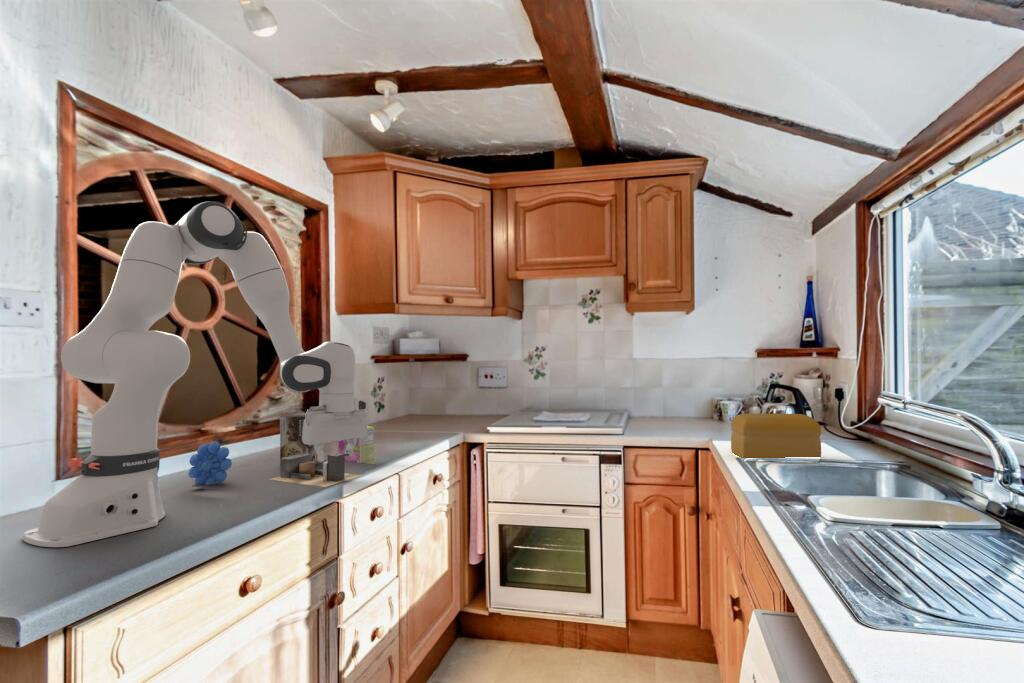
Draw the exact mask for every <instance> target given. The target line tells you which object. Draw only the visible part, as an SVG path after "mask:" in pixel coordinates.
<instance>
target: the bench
mask: <svg viewBox="0 0 1024 683" xmlns="http://www.w3.org/2000/svg"><path fill="white" fill-rule="evenodd" d="M309 461H310V462H312V454H306V453H302V454H298V455H293V456H289V457H284V458H281V461H280V460H279V466H280V470H279V471H280V472H279V475H280V476H277V477H272V478H268V480H269V481H275V482H277V481H278V482H283V483H284V482H285V483H291V484H298V485H306V486H312V487H313V486H314V487H321V488H327V487H330V486H334V485H336V484H340V483H343V482H345V481H350V480H352V479H355V478H359V477H362V476H363V475H362V474H354V473H348V472H347V473H346V472H345V474H344V479H343V480H340V481H337V482H335V481H328V480H327V481H325V480H323V469H318V468H317V469H316V468H315V476H314V477H311V475H309V474H301V473H299V463H301V462H309Z"/></svg>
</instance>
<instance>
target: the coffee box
mask: <svg viewBox="0 0 1024 683" xmlns="http://www.w3.org/2000/svg"><path fill="white" fill-rule="evenodd" d="M305 414H306V413H287V414H284V415H281V416H280V415H279V462H280V461H281V458H284V457H289V456H293V455H298V454H302V453H306V454H312V462H315V465H316V464H318V463H319V461H318V460H317V456H318V454H317V453H316V451H315V449H314V445H307V444H304V443H303V441H302V431H303V425H304V420H305Z"/></svg>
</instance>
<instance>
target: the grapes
mask: <svg viewBox="0 0 1024 683" xmlns="http://www.w3.org/2000/svg"><path fill="white" fill-rule="evenodd" d="M229 454H230V450H229V448H228V447H224V446H222V447H221V443H220V442H218V441H215V440H214V441H212V442H211V443H209V444H201V445H200V446H198V448H197V450H196V453H195V454H194V453H193V454H192V455H191V457H190V458H189V461H188V462H189V465H190V466H191V467H190V469H189V471H188V473H187V474H188V477H189V478H190V479H194V486H196V485H200V484H201V485H202V484H204V485H214V484H218V483H223V482H225V480H227V477H228V473H227V471H228V470H230V469H231V467H232V464H233V463H232V459H230V458H228V457H229Z"/></svg>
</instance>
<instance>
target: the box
mask: <svg viewBox="0 0 1024 683" xmlns="http://www.w3.org/2000/svg"><path fill="white" fill-rule="evenodd" d="M347 445H348V442H347V439H346V440H341V441H337V452H338V454H344V449H346V448H347ZM345 462H348V463H349V462H350V463H356V464H367V465H368V464H369V465H375V426H369V425H368V429H367V433H366V435H365V436H364V437H358V438H357V441H356V444H355V446H354V448H353V455H351V456H345Z"/></svg>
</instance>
